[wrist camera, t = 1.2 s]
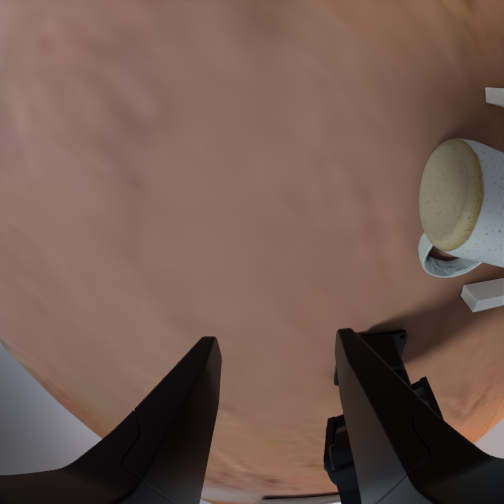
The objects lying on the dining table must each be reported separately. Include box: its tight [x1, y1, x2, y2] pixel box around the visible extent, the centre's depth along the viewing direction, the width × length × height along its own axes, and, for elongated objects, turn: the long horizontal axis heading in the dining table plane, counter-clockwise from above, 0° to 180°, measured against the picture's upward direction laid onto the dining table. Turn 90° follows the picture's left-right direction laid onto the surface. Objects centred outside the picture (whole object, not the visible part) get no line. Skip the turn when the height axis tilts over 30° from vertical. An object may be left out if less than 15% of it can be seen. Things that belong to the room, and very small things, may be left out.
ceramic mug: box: [418, 138, 504, 278], centre depth 15 cm, size 11×8×8 cm
